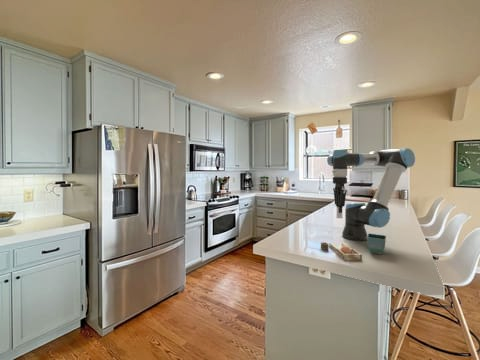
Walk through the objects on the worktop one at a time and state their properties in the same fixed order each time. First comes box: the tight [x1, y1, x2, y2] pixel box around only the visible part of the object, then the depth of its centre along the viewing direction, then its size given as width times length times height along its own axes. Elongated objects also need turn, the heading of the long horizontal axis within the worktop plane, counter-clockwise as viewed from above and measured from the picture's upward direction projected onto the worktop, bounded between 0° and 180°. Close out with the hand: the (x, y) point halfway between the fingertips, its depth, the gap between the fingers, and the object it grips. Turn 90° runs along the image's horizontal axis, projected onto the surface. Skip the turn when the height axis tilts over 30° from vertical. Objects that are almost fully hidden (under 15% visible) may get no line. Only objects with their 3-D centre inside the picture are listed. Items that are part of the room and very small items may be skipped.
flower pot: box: [366, 232, 387, 255], centre depth 133 cm, size 9×9×9 cm
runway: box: [328, 242, 353, 254], centre depth 137 cm, size 8×12×2 cm, turn 0°
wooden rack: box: [335, 248, 363, 261], centre depth 127 cm, size 9×9×3 cm
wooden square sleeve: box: [320, 241, 329, 251], centre depth 138 cm, size 3×3×4 cm
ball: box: [341, 245, 351, 254], centre depth 129 cm, size 5×5×5 cm
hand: (339, 218), depth 139 cm, fingers closed
